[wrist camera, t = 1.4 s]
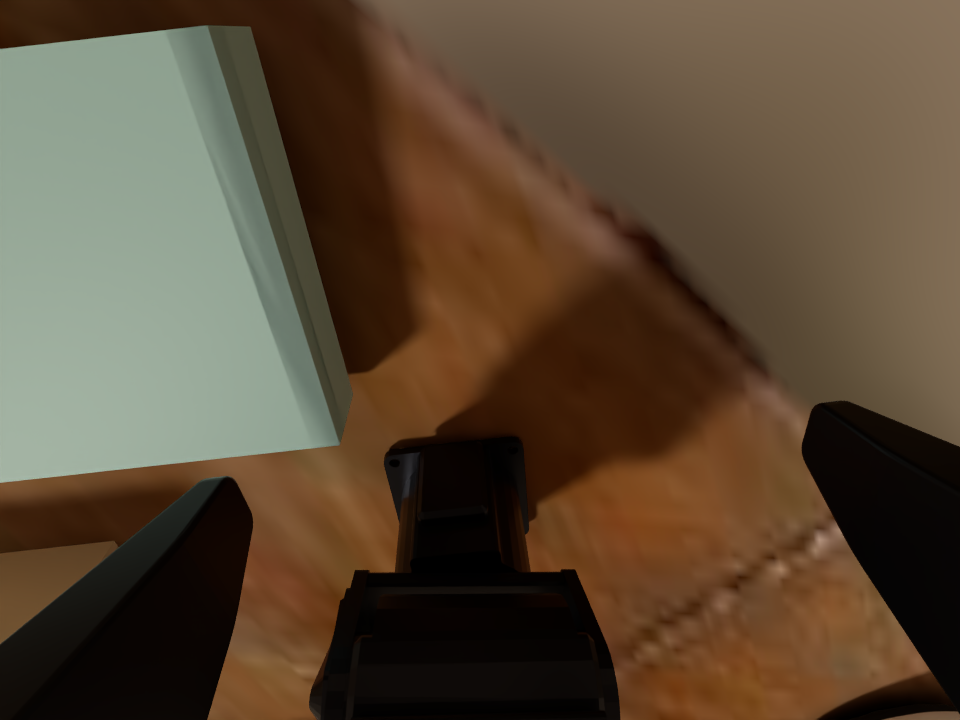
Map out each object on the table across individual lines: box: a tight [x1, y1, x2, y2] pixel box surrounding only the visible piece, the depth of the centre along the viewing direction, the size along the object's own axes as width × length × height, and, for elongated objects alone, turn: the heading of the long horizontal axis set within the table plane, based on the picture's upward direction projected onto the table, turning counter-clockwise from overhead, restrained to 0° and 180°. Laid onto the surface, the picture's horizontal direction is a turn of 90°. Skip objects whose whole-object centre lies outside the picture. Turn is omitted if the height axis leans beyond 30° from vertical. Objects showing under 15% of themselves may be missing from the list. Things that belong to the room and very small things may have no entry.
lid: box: [0, 25, 353, 483], centre depth 17 cm, size 13×19×3 cm
